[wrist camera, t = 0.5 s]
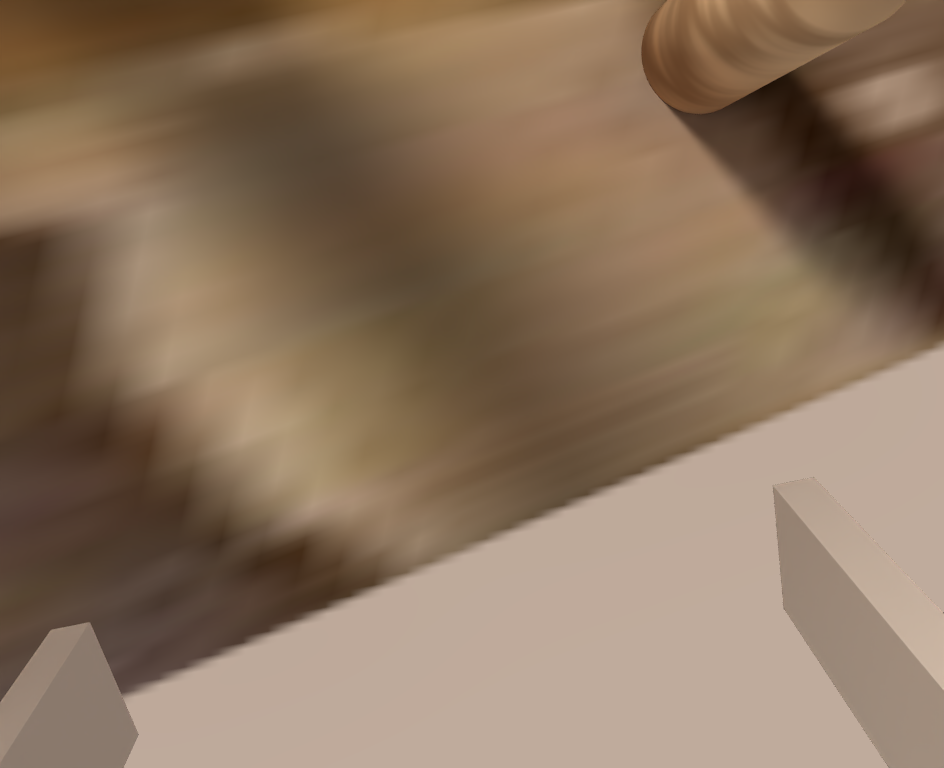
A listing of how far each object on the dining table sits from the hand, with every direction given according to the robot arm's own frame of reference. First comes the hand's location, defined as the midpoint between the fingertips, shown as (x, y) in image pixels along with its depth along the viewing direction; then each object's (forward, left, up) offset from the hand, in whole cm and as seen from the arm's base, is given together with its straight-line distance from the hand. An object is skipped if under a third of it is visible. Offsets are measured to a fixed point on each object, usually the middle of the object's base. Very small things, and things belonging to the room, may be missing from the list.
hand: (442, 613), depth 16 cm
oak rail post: (-10, +22, -26) cm, 36 cm away
